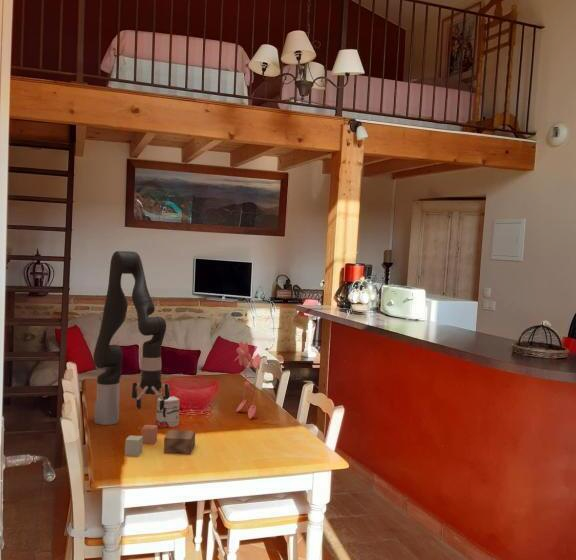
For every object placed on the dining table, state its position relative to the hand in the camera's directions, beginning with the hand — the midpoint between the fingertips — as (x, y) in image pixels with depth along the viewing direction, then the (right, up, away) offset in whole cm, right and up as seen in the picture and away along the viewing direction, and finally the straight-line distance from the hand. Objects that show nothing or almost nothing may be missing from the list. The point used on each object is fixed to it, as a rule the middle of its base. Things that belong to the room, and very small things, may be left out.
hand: (150, 409), depth 240 cm
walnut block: (+12, -14, -6) cm, 20 cm away
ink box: (+2, -12, +23) cm, 26 cm away
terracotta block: (-1, -13, +1) cm, 13 cm away
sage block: (-3, -14, -13) cm, 19 cm away
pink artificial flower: (+32, -12, +42) cm, 54 cm away
